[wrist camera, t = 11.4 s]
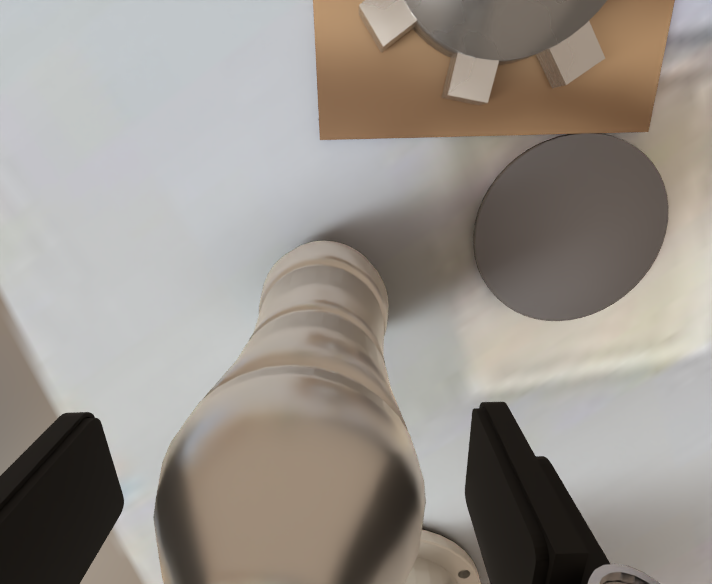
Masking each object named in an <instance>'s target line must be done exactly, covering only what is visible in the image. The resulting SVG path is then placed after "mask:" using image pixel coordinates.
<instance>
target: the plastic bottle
mask: <svg viewBox="0 0 712 584" xmlns="http://www.w3.org/2000/svg"><path fill="white" fill-rule="evenodd" d="M388 309H389V304H388V294H387V291H386V288H385V285H384V282H383V280H382V278H381V277H380V275H379V273H378V271H377V270H376V269H375V268H374V267H373V265H372V264H371V263H370V262H369V261H368V260H367V258H366V257H365V256H363V255H362V254H361V253H360V252H358V251H357V250H355V249H354V248H352V247H350V246H348V245H345V244H342V243H339V242H335V241H324V240H323V241H314V242H310V243H307V244H304V245H301V246H299V247H297V248H295V249H294V250H292V251H290V252H288V253H287V254H285V255H284V256H283V257H282V258H281V259H279V260H278V261H277V262H276V263H275V265H274V266H273V267H272V269H271V270H270V272H269V273H268V275H267V278H266V280H265V282H264V285H263V290H262V294H261V299H260V304H259V317H258V320H257V323H256V327H255V330H254V333H253V335H252V336H251V338H250V340H249V342H248V343H247V344H246V346H245V347H244V349H243V351H242V352H241V354H240V355H239V357H238V359H237V360H236V362H235V363H234V364H233V365H232V366H231V367H230V368H229V370H228V371H227V372H226V373H225V374H224V375H223V376H222V378H221V379H220V380H219V381H218V382H217V383H216V384H215V386H214V387H213V388H212V389H211V390H210V391H209V392H208V394H207V395H206V396H205V397H204V399H203V400H202V401H200V402H199V404H198V405H197V406H196V408H195V409H194V410H193V412H192V413H191V414H190V416H189V417H188V419H187V420H186V421H185V423H184V424H183V426H182V427H181V429H180V430H179V432H178V433H177V434H176V436H175V437H174V439H173V440H172V441H171V443H170V445H169V448H168V450H167V453H166V455H165V458H164V460H163V462H162V468H161V473H160V479H159V485H158V490H157V496H156V503H155V510H154V525H155V533H156V540H157V547H158V553H159V560H160V567H161V573H162V579H163V582H164V584H404V583H405V581H406V579H407V577H408V575H409V573H410V571H411V569H412V567H413V564H414V562H415V560H416V558H417V555H418V551H419V545H420V539H421V532H422V525H423V518H424V511H425V504H426V498H425V486H424V479H423V476H422V472H421V469H420V465H419V462H418V458H417V454H416V451H415V449H414V446H413V443H412V440H411V437H410V434H409V433H408V430H407V427H406V425H405V422H404V420H403V417H402V415H401V412H400V410H399V407H398V405H397V402H396V400H395V397H394V395H393V392H392V390H391V387H390V383H389V378H388V374H387V370H386V367H385V361H384V357H383V346H384V335H385V332H386V328H387V319H388Z"/></svg>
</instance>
